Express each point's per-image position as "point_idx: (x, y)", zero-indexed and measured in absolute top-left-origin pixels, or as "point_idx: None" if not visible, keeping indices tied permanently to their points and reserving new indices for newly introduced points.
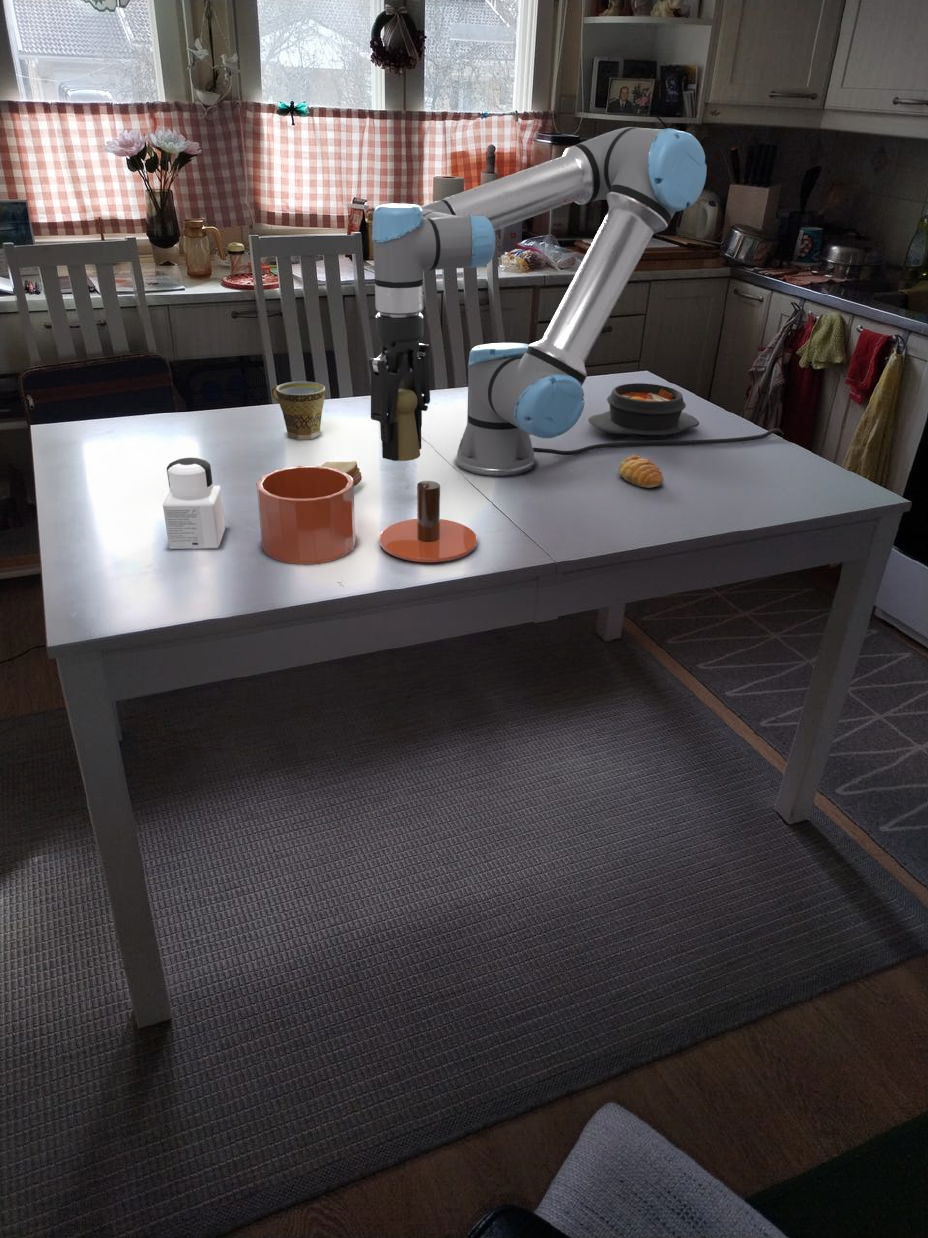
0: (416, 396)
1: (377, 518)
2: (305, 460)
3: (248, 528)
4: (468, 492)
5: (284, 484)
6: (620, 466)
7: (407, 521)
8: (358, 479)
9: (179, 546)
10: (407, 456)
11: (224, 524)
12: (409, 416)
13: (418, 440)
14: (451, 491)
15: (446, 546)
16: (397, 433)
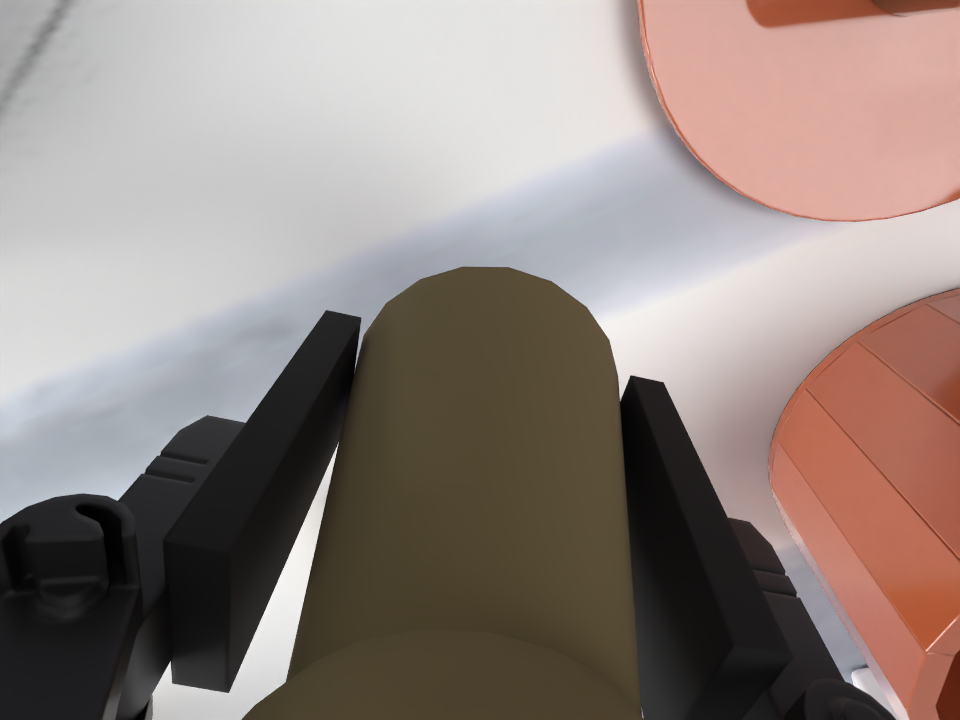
0: None
1: (638, 316)
2: (258, 682)
3: (830, 627)
4: (142, 23)
5: (942, 706)
6: None
7: (722, 153)
8: None
9: None
10: (593, 330)
11: (872, 685)
12: (554, 597)
13: (339, 356)
14: (188, 121)
15: None
16: (690, 526)
